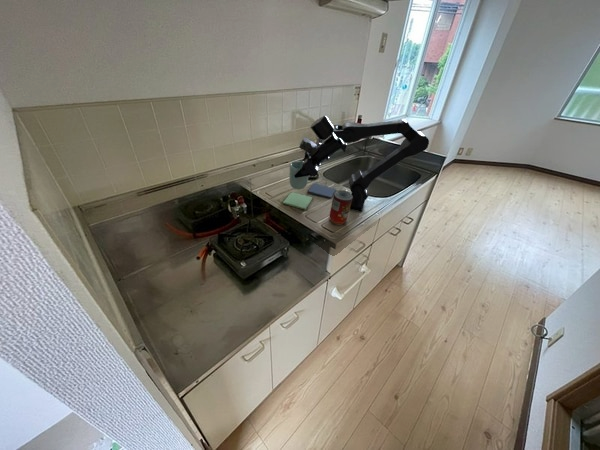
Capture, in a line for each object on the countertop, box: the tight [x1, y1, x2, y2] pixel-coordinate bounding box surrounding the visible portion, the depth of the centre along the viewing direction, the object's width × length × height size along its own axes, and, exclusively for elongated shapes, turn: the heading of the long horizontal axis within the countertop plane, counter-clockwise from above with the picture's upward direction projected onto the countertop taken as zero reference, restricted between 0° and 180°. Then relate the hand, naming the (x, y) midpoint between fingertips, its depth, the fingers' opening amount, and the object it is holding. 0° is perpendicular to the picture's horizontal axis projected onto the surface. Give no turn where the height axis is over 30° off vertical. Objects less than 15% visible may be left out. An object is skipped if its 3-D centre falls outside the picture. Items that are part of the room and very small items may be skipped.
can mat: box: [307, 183, 336, 199], centre depth 113 cm, size 11×9×1 cm
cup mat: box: [282, 191, 313, 211], centre depth 103 cm, size 10×10×1 cm
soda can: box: [329, 189, 353, 226], centre depth 91 cm, size 7×7×12 cm
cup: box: [289, 160, 309, 191], centre depth 98 cm, size 8×8×10 cm
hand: (295, 172), depth 98 cm, fingers closed on cup, 8 cm apart
